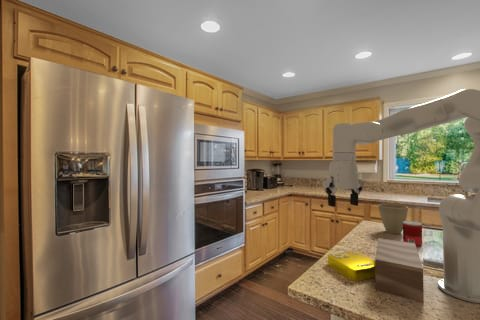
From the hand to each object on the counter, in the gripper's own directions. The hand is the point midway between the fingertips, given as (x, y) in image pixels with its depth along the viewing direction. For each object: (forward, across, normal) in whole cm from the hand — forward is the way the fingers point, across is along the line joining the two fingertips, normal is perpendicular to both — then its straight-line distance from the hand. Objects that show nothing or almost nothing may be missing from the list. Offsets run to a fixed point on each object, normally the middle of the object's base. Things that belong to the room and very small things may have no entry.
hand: (343, 205), depth 82 cm
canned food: (+26, -60, -19) cm, 68 cm away
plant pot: (+26, -69, -37) cm, 82 cm away
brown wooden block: (+27, -20, +5) cm, 34 cm away
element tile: (+28, -11, -6) cm, 30 cm away
